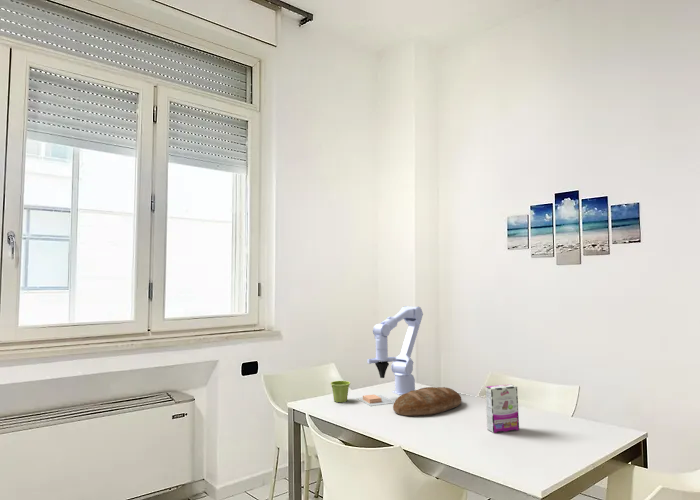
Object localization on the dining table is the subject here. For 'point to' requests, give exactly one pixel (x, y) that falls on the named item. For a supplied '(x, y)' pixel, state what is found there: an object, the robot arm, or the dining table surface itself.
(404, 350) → the robot arm
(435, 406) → the bread
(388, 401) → the mat
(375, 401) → the tile
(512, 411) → the candy bar box
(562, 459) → the dining table surface
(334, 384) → the plant pot
